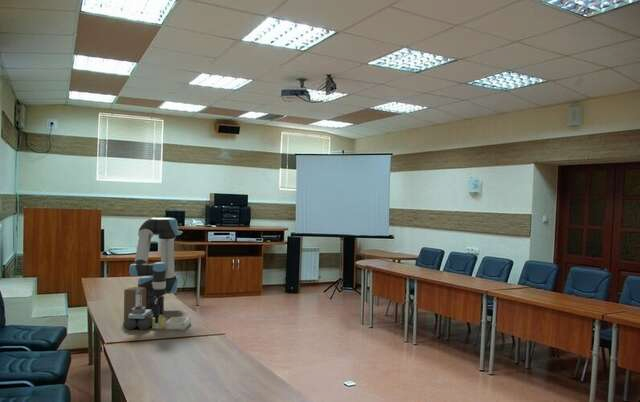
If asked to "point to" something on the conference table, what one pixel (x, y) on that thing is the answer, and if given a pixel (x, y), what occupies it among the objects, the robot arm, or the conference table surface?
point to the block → (132, 300)
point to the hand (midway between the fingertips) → (158, 326)
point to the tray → (177, 323)
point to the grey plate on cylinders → (139, 319)
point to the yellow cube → (162, 323)
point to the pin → (138, 299)
